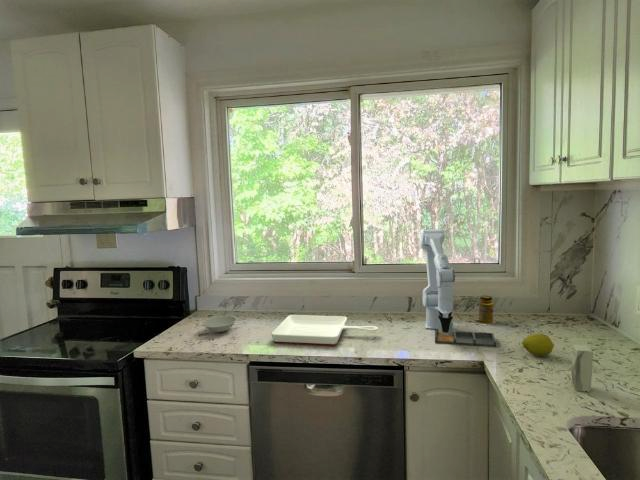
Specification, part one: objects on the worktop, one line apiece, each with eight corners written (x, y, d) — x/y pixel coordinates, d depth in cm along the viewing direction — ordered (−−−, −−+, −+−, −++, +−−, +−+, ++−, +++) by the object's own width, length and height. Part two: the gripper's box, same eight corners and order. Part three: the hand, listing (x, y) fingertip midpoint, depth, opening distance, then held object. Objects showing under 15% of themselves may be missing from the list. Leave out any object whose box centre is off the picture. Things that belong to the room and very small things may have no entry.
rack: (435, 334, 179) (435, 329, 179) (493, 338, 173) (493, 333, 173) (434, 342, 170) (434, 337, 170) (496, 346, 164) (496, 341, 163)
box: (570, 383, 131) (571, 343, 130) (586, 385, 130) (588, 344, 129) (575, 391, 126) (576, 350, 125) (592, 392, 125) (593, 351, 124)
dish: (225, 339, 182) (224, 328, 181) (196, 336, 186) (195, 325, 186) (244, 326, 199) (243, 316, 198) (217, 324, 203) (216, 314, 202)
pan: (289, 324, 202) (288, 314, 201) (380, 327, 193) (380, 317, 192) (270, 345, 174) (269, 334, 174) (375, 350, 165) (375, 338, 164)
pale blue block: (443, 331, 176) (443, 319, 176) (452, 334, 172) (452, 322, 171) (438, 332, 175) (438, 320, 174) (447, 335, 170) (447, 323, 170)
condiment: (497, 322, 193) (497, 297, 192) (483, 325, 189) (484, 299, 188) (484, 318, 200) (484, 294, 198) (471, 321, 196) (471, 296, 195)
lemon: (551, 352, 156) (552, 331, 155) (557, 360, 149) (557, 339, 148) (519, 350, 159) (520, 330, 158) (523, 358, 152) (524, 337, 151)
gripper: (435, 293, 180) (435, 324, 181) (435, 301, 166) (435, 335, 167) (452, 293, 178) (452, 324, 179) (453, 302, 164) (453, 336, 165)
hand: (445, 329), depth 173 cm, fingers closed on pale blue block, 6 cm apart
